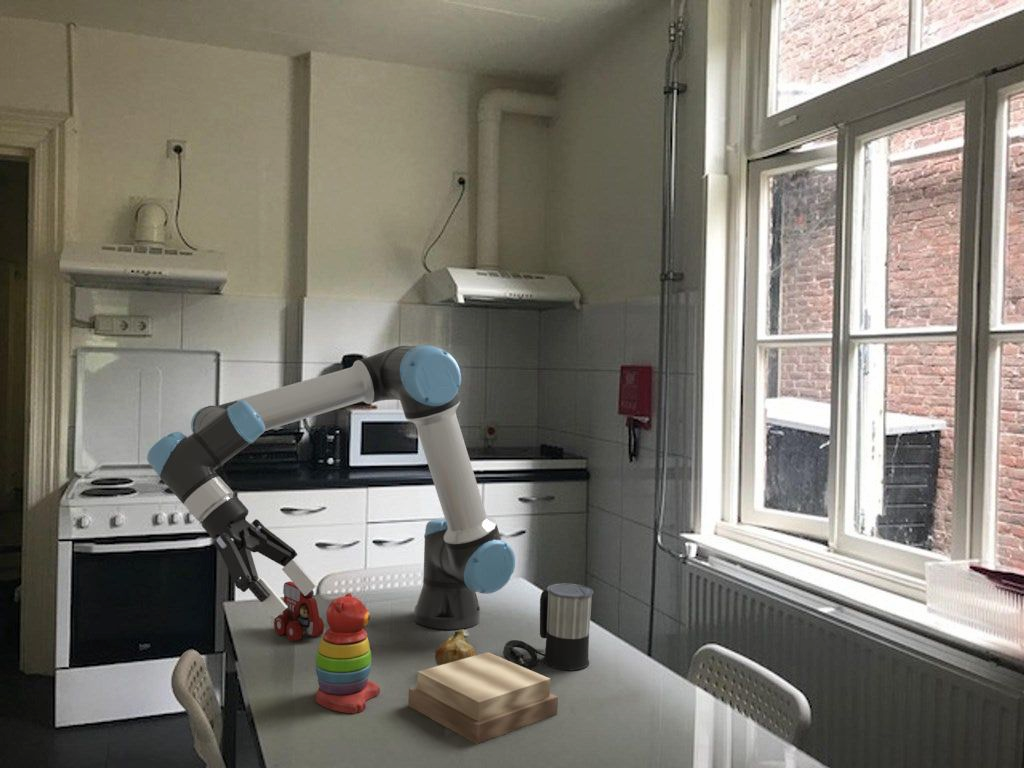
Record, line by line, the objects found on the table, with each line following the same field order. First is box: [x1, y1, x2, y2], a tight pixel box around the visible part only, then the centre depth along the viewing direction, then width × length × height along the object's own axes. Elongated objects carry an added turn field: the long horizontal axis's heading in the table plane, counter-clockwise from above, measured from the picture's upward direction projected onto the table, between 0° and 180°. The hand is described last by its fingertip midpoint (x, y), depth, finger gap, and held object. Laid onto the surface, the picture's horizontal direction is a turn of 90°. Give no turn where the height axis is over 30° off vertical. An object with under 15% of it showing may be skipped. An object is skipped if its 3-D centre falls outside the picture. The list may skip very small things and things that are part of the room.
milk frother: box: [502, 582, 594, 671], centre depth 165 cm, size 14×16×15 cm
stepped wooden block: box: [407, 651, 559, 745], centre depth 141 cm, size 18×18×6 cm
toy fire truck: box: [273, 580, 325, 643], centre depth 175 cm, size 7×12×10 cm, turn 45°
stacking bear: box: [315, 592, 381, 714], centre depth 143 cm, size 11×10×18 cm
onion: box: [434, 628, 477, 666], centre depth 158 cm, size 8×8×8 cm
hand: (297, 601), depth 144 cm, fingers open, 13 cm apart
